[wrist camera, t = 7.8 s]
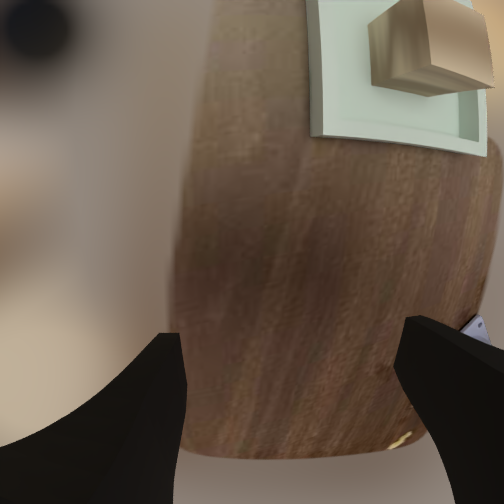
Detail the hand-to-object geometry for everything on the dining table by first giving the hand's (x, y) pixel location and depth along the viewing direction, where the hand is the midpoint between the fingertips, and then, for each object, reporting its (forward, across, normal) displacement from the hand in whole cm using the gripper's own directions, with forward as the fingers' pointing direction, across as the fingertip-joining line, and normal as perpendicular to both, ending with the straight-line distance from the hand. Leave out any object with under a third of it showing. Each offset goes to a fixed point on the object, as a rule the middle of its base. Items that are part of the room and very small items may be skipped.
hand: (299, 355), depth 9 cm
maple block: (+9, -8, -12) cm, 17 cm away
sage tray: (+9, -8, -12) cm, 17 cm away
